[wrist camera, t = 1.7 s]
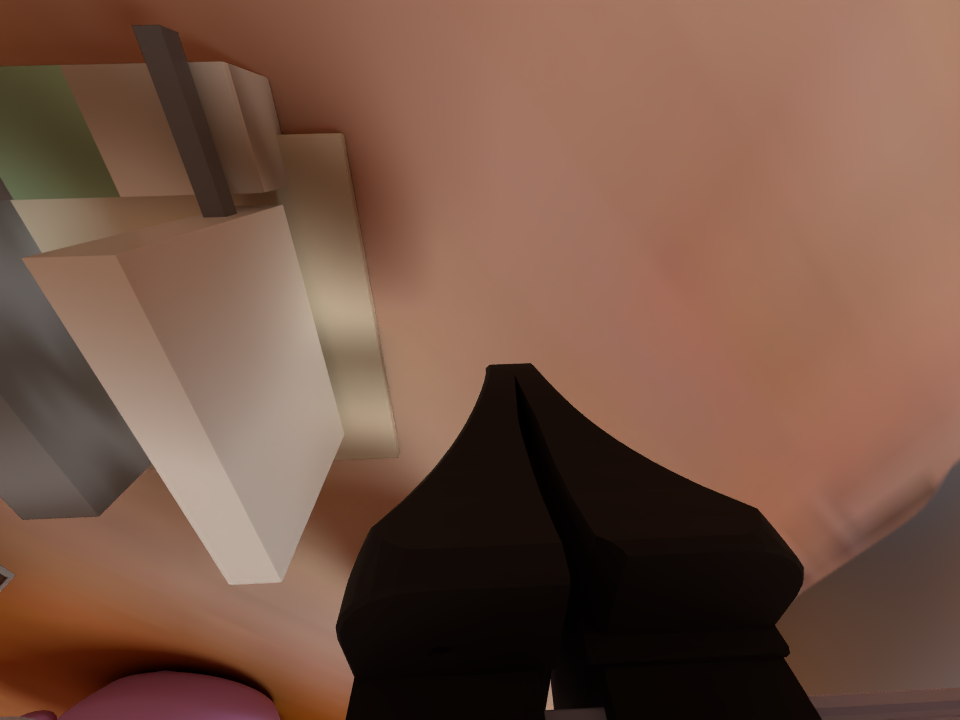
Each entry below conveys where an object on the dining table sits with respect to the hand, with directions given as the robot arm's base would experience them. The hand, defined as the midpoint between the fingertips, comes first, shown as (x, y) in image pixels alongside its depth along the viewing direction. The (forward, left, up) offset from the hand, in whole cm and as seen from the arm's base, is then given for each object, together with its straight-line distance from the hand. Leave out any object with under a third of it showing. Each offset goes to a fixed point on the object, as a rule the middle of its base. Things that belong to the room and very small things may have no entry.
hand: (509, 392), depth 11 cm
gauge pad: (+2, +8, -4) cm, 9 cm away
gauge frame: (0, +12, -5) cm, 13 cm away
